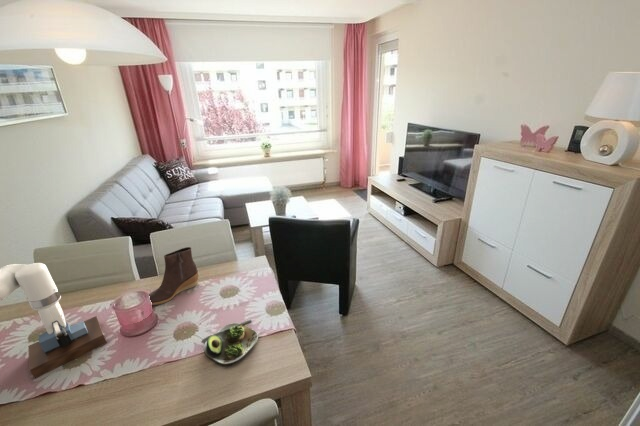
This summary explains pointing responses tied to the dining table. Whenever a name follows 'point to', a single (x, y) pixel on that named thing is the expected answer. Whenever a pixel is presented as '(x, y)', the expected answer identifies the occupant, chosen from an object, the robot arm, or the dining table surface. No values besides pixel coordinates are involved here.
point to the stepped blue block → (74, 331)
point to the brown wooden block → (65, 350)
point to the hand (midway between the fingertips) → (65, 337)
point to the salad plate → (230, 343)
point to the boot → (176, 276)
